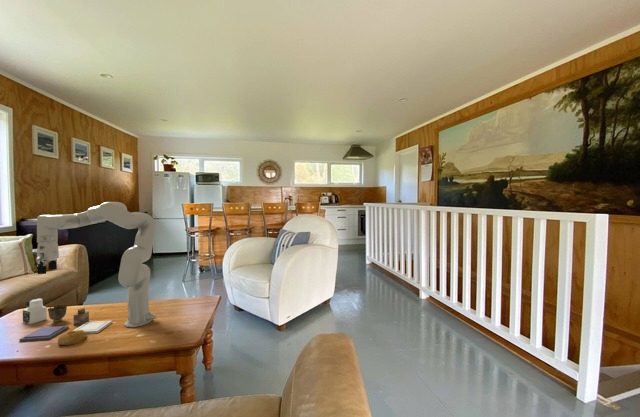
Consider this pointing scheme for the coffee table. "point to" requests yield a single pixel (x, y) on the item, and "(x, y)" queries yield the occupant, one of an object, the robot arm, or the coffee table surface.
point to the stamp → (81, 317)
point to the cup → (57, 313)
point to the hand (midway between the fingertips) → (47, 271)
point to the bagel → (72, 337)
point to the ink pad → (44, 333)
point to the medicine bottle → (34, 311)
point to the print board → (93, 326)
